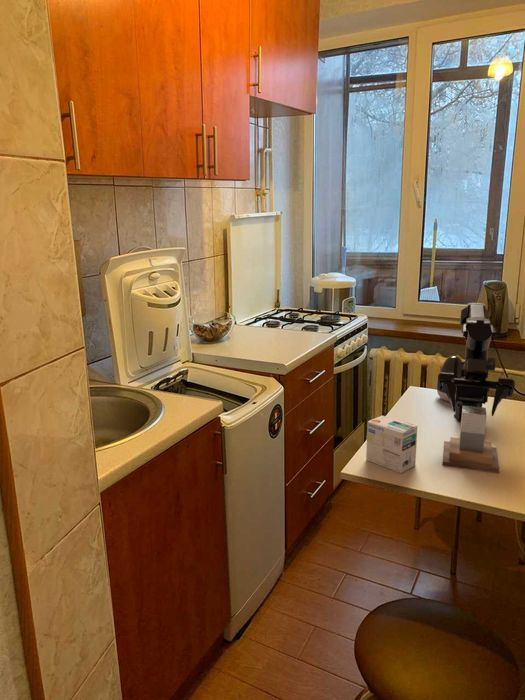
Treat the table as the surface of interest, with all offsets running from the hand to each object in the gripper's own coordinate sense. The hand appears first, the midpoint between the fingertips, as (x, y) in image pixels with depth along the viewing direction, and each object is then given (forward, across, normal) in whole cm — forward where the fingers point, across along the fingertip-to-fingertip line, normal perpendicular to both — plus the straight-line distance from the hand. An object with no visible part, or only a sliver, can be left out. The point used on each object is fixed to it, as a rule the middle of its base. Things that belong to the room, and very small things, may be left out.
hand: (473, 413), depth 139 cm
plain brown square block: (+8, 0, +3) cm, 9 cm away
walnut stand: (+10, 0, +5) cm, 11 cm away
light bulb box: (+17, -19, -1) cm, 25 cm away
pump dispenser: (-21, -5, +38) cm, 43 cm away
